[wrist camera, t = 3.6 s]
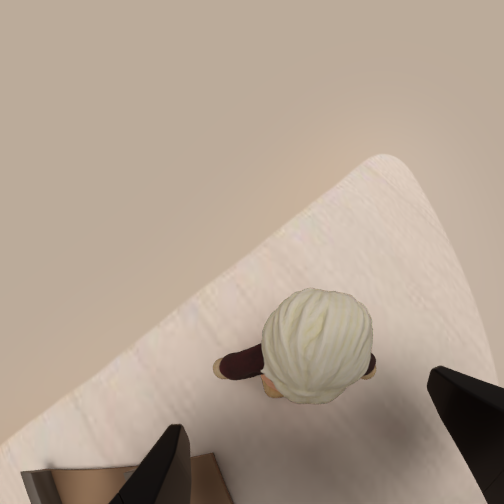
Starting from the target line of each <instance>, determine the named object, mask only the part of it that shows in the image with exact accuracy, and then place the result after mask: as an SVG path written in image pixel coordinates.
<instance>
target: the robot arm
mask: <svg viewBox="0 0 504 504" xmlns="http://www.w3.org/2000/svg"><path fill="white" fill-rule="evenodd" d="M427 390H428V392H429V394H430V396H431V399H432V401H433V403H434V405H435V407H436V409H437V411H438V414H439V416H440V418H441V420H442V422H443V423H444V425H445V427H446V428H447V430H448V432H449V433H450V435H451V437H452V438H453V440H454V442H455V444H456V445H457V447H458V449H459V451H460V452H461V454H462V456H463V458H464V459H465V461H466V463H467V465H468V467H469V469H470V470H471V472H472V474H473V476H474V478H475V480H476V482H477V483H478V485H479V487H480V489H481V491H482V493H483V495H484V497H485V499H486V501H487V503H488V504H504V388H501V387H499V386H496V385H493V384H490V383H487V382H484V381H482V380H479V379H476V378H473V377H471V376H468V375H465V374H462V373H460V372H457V371H454V370H452V369H449V368H446V367H444V366H438V367H435V368H433V369H432V370H431V371H430V375H429V379H428V382H427ZM191 486H192V475H191V458H190V442H189V438H188V436H187V433H186V431H185V429H184V427H183V425H182V424H171V425H169V427H168V428H167V429H166V430H165V432H164V433H163V434H162V436H161V437H160V438H159V440H158V441H157V442H156V444H155V445H154V446H153V448H152V449H151V450H150V452H149V453H148V454H147V455H146V457H145V458H144V459H143V461H142V462H141V463H140V464H139V466H138V467H137V468H136V470H135V471H134V472H133V473H132V475H131V476H130V477H129V479H128V480H127V481H126V482H125V484H124V485H123V486H122V487H121V489H120V490H119V491H118V492H119V493H116V495H115V496H114V497H113V498H112V500H111V501H110V502H109V503H108V504H190V500H191Z"/></svg>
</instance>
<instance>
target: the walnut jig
mask: <svg viewBox="0 0 504 504" xmlns="http://www.w3.org/2000/svg"><path fill="white" fill-rule="evenodd" d="M190 458H191V475H192V486H191V500H190V504H233V502H232V500H231V497H230V495H229V493H228V490H227V488H226V485H225V483H224V480H223V478H222V475H221V473H220V470H219V468H218V465H217V462H216V460H215V457H214V454H213V453H209V454H205V455H200V456H195V457H190ZM137 467H138V466H131V467H120V468H106V469H81V470H63V469H42V470H33V471H23V472H21V476H22V479H23V482H24V485H25V488H26V491H27V494H28V496H29V499H30V502H31V504H108V503H109V502H110V501H111V500H112V498H113V497H114V496H115V495H116V493H119V492H118V491H119V490H120V489H121V487H122V486H123V485H124V484H125V482H126V481H127V480H128V479H129V477H130V476H131V475H132V473H133V472H134V471H135V470H136V468H137Z"/></svg>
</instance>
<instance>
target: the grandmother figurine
mask: <svg viewBox="0 0 504 504" xmlns="http://www.w3.org/2000/svg"><path fill="white" fill-rule="evenodd" d="M372 341H373V328H372V319H371V316H370V314H369V313H368V310H367V308H366V307H365V306H364V305H363V304H362V303H360V302H358V301H356V299H355V298H354V297H353V296H352V295H349V294H345V293H340V292H336V291H324V290H320V289H314V288H307V289H304V290H302V291H298V292H295V293H294V294H292V295H291V296H290V297H289V298H287V299H286V300H284V301H283V302H282V303H281V304H280V305H279V307H278V308H277V309H276V310H275V311H274V312H273V313H272V314H271V315H270V317H269V318H268V320H267V322H266V323H265V326H264V328H263V331H262V342H261V344H258V345H256V346H254V347H251V348H249V349H246V350H243V351H240V352H237V353H231V354H228V355H226V356H225V357H224V358H221V359H218V360H217V361H216V362H215V363H214V365H213V371H214V374H215V375H216V376H217V377H218V378H221V379H230V380H241V379H246V378H251V377H255V376H257V375H261V377H262V382H263V386H264V390H265V392H266V394H267V395H268V396H269V397H272V398H279V397H283V396H285V397H286V398H287V399H289V400H290V401H291V402H294V403H297V404H324V403H328V402H330V401H332V400H334V399H335V398H336V397H338V396H339V395H340V394H341V393H342V392H343V391H344V390H345V389H346V387H347V386H349V385H351V384H353V383H355V382H356V381H358V380H359V379H360V378H361V379H364V380H367V379H370V378H372V377H373V376H374V374H375V372H376V365H375V364H376V358H375V356H374V355H373V354H372V353H371V349H372Z"/></svg>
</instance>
